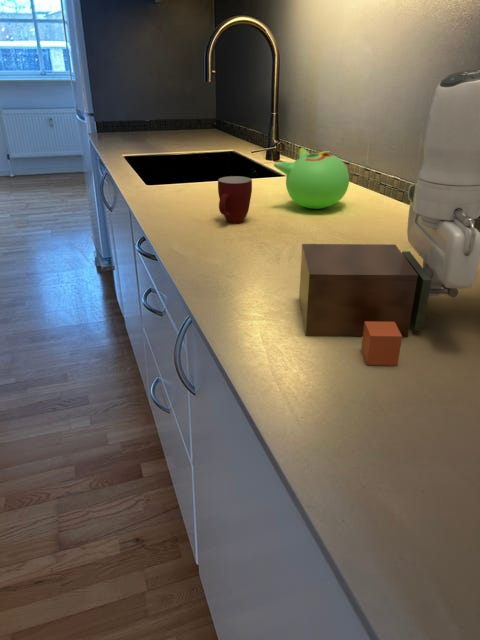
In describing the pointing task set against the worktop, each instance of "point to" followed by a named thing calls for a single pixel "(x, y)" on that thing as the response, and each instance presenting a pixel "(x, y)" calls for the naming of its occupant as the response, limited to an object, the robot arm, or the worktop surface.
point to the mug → (234, 197)
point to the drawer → (423, 292)
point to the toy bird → (315, 179)
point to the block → (381, 343)
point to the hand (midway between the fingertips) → (430, 292)
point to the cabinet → (354, 288)
